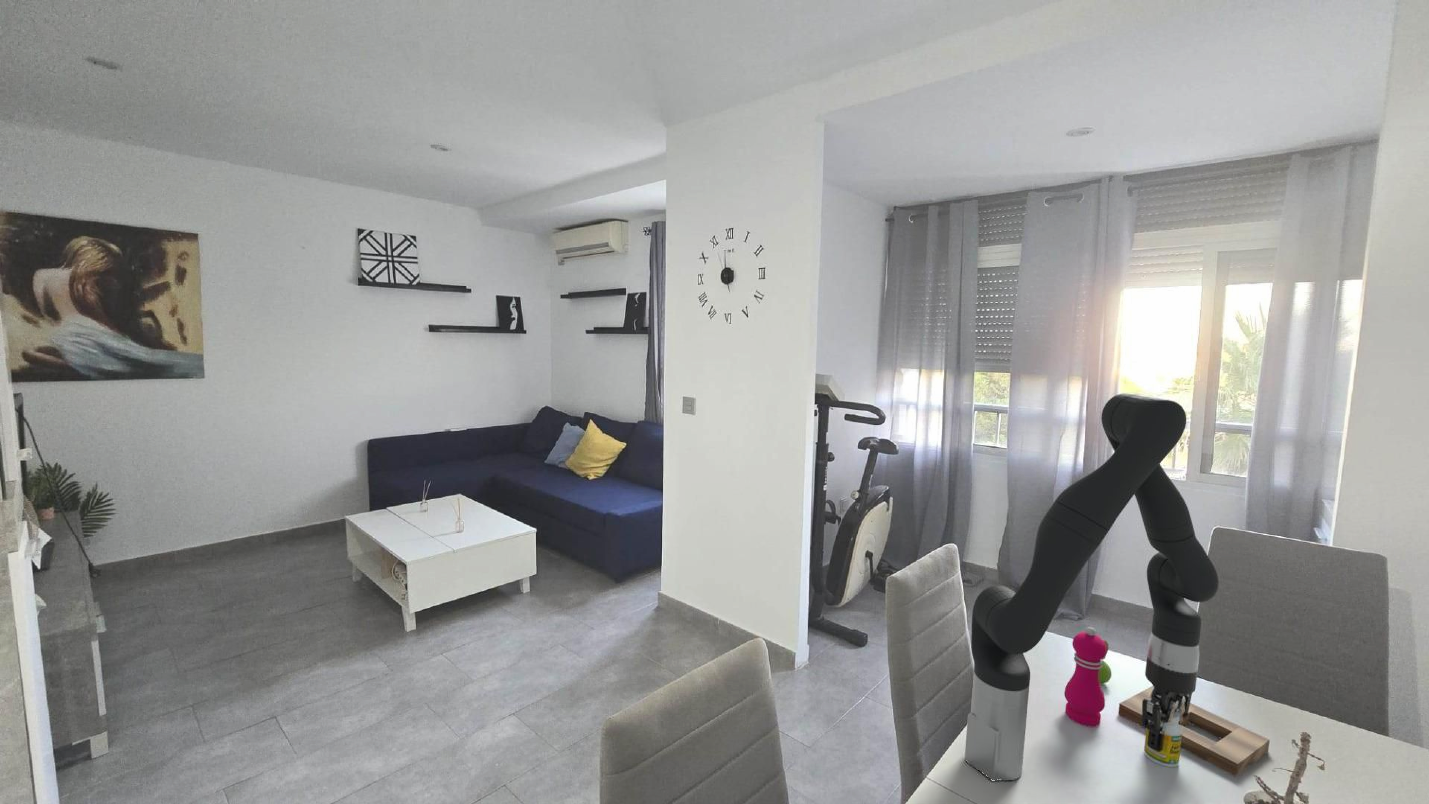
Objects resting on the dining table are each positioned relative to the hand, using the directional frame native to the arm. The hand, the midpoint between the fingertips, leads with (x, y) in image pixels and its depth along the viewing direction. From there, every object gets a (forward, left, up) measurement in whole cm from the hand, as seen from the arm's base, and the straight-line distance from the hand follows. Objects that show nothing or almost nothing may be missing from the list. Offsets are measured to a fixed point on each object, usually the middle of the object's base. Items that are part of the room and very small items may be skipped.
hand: (1162, 743), depth 111 cm
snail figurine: (+15, +20, -3) cm, 25 cm away
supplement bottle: (0, 0, -3) cm, 3 cm away
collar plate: (+14, +1, -3) cm, 14 cm away
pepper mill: (-1, +14, -3) cm, 14 cm away
